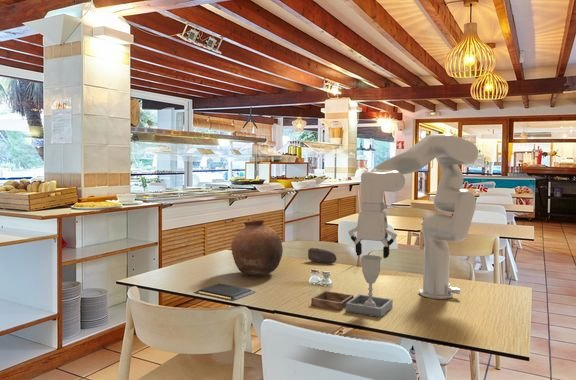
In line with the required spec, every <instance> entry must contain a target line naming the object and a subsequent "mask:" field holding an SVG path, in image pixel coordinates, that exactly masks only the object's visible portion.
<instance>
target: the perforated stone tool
mask: <svg viewBox="0 0 576 380" xmlns="http://www.w3.org/2000/svg"><path fill="white" fill-rule="evenodd" d="M307 251H308V253H307V258H308V259H309V261H311V262H314V263H321V264H334V263H335V262H336V261H337V259H338V258H337V256H336V255H337V254H335V253H334V252H332V251H331V250H327V249H323V248H316V247H311V248H309V249H308V250H307Z"/></svg>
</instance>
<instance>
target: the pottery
mask: <svg viewBox="0 0 576 380" xmlns="http://www.w3.org/2000/svg"><path fill="white" fill-rule="evenodd" d="M265 220H266V219H264V218H263V219H253V220H249V221H248V220H247V221H243V224H244V225H245V226H244V228H242V229H241V230H240V231H239V232H237V233H236V235H234V237H233V239H232V240H231V245H230V247H231V249H230V250H231V254H232V257H233V260H234V264H235V266H236V267H237V270H238V271H239V272H240V273H242V274H243V275H245V276H254V277H255V276H256V277H257V276H265V275H268V274H271V273H272V272H274V271H275V270H276V269H277V268H278V267H279V265H280V263H281V259H282V257H283V252H284V248H283V243H282V240H281V238H280V237H281V236H280V235H279V234H278V233H277V231H276V230H274V229H273V228H272V227H269V226H268V225H265V224H264V222H265Z"/></svg>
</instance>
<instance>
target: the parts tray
mask: <svg viewBox="0 0 576 380" xmlns="http://www.w3.org/2000/svg"><path fill="white" fill-rule="evenodd" d="M368 299H369V295H368V294H367V295H366V294H357V295H356V296H354V298H353V299H351V300H350V301H348V302H347V303H346V307H345V312H346V311H347V312H346V313H350V312H353V313H352V314H356V313H359V314H358V315H361V314H365V315H364V316H367V315H372V316H371V317H373V316H377V317H376V318H378V317H382V316H383V315H384V314H385V313H386V314H387V313H389V312H390V311H391V310H392V309H393V302H394V301H393V299H391V298H386V297H385V298H384V297H379V296H373V295H372V301H374V302H375V304H376V307H377V308H376V307H370V306H364V304H365V302H366V301H367V300H368ZM391 308H392V309H391ZM390 309H391V310H390ZM386 314H385V315H386ZM385 315H384V316H385ZM384 316H383V317H384ZM383 317H382V318H383Z"/></svg>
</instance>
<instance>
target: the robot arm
mask: <svg viewBox="0 0 576 380" xmlns="http://www.w3.org/2000/svg"><path fill="white" fill-rule="evenodd" d="M478 157H479V149H478V147H477V146H476V144H475V143H474V142H472V141H470V140H468V139H465V138H463V137H460V136H458V135H455V134H452V133H437V134H435V133H434V134H429V135H427V136H424V137H423V138H422V139H420V140H419V141H418V142H417V143H415V144H413V146H412V147H410V148H409V149H407V150H406V151H404V152H402V153H399V154H397V155H395V156H392V157H389V158H387V159H386V160H383V161H382V162H380V163H378V164H377V165H376V166H375V167H373V169H371V170H370V171H364V172H363V173H361V175H360V197H361V198H360V210H359V211H358V216H357V225H356V227H354V228H352V229H350V230H348V235H349V237H350V240H352V242H353V243H354V245H355V253H356V256H360V255H361V256H362V249H363V247H362V246H363V245H362V243H361V242H362V241H363V240H364V241H374V242H375V241H377V242H378V241H379V242H381V243H382V244H383V248H382V249H383V252H382V253H383V255H382V258H383V259H387V258H388V257H389V255H390V246H391V245H392V244H393V243H394V242H395V241H396V239H397V236H398V233H396V232H394V231H392V230H391V229H389V226H388V216H387V212H386V211H385V209H388V204H385V203H384V192H389V193H396V192H399V191H401V190H403V188H404V186H405V184H406V178H405V176H404V175H407V174H412V173H415V172H420V171H421V170H422V169H423V168H425V167H426V166H427V165H428V164H429V163H430V162H432V161H433V160H435V159H436V161H437V164H438V165H439V168H440V179H439V183H438V186H437V189H436V193H435V196H434V198H433V199H434V200H433V207H434V208H435V210H437V211H439V212H441V214H440V213H432V214H427V215H426V216H425V217H424V218H423V220H422V223H421V225H422V227H421V228H422V230H421V231H422V235H423V243H424V245H423V249H424V251H423V274H422V275H423V276H422V277H423V280H422V281H423V282H422V288H420V289H418V294H419V295H420V296H422V297H424V298H429V299H436V300H446V299H451V298H452V297H453V294H457V295H460V294H461V289H460V288H458V287H453V286H452V285H451V284H452V283H450V262H451V261H450V260H451V259H450V258H451V257H450V255H451V250H450V246H449V243H448V242H453V243H460V242H463V241H464V240H465V239H466V238H467V236H468V234H469V231H470V228H471V224H472V221H473V218H474V215H475V210H476V207H477V201H476V196H475V194H474V193H473V192H472V191H471V190H468V189H465V188H462V187H463V183H464V175H463V172H462V170H461V168H460V166H459V165H467V166H468V165H471V164H473V163H475V162H476V161H477V160H478ZM443 213H447V214H443ZM448 213H449V214H450V213H451V214H453V215H448ZM355 233H356V235H355ZM389 236H390V237H391V238H389ZM388 238H389V240H388Z"/></svg>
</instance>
